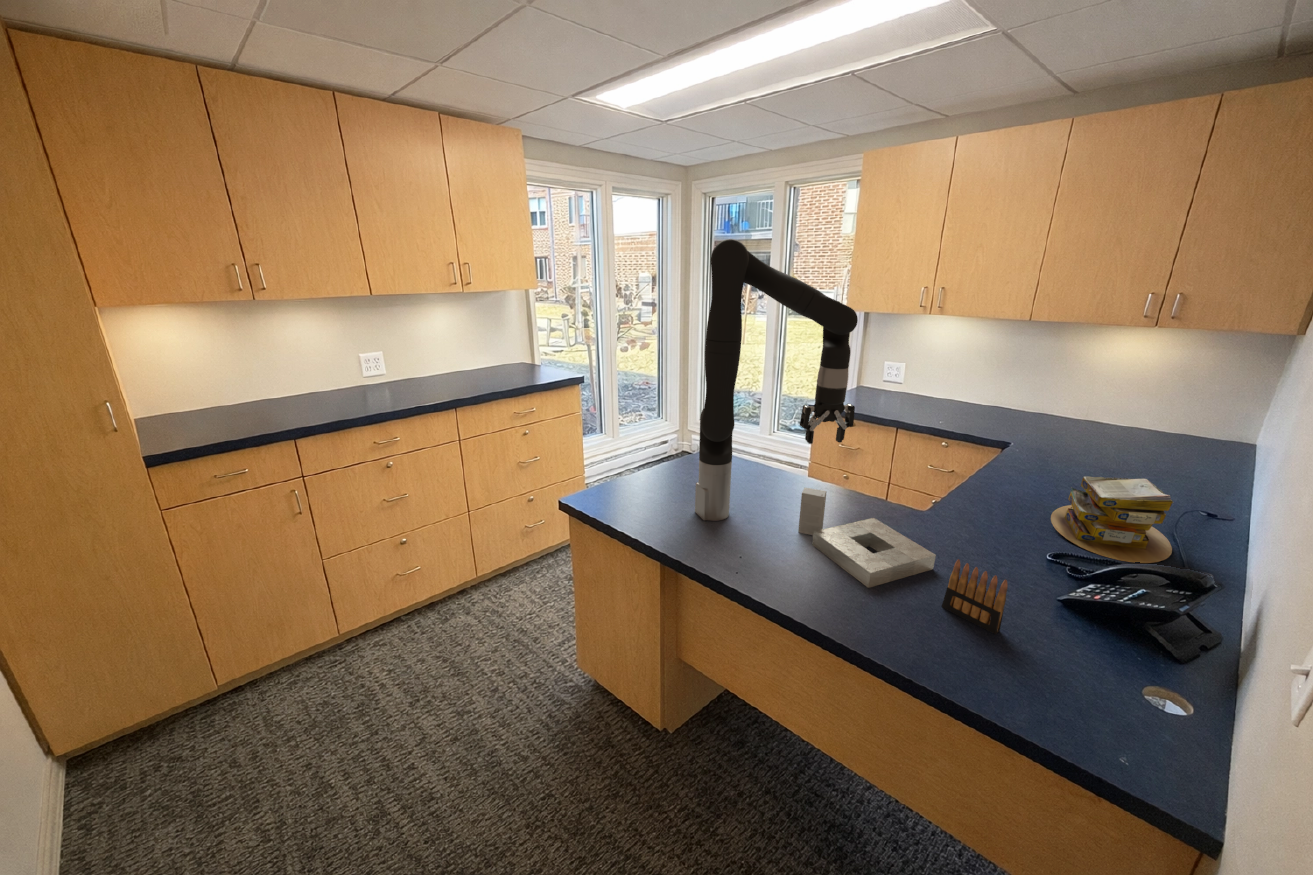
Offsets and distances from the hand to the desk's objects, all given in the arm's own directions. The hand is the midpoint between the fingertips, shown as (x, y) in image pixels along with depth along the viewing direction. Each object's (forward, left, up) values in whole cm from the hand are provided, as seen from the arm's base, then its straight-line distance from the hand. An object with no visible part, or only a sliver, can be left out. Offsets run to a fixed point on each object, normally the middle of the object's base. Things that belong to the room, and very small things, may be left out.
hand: (824, 442), depth 138 cm
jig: (+1, -20, -24) cm, 31 cm away
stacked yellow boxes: (+67, -37, -24) cm, 80 cm away
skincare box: (-5, -4, -24) cm, 25 cm away
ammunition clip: (+3, -46, -24) cm, 52 cm away
